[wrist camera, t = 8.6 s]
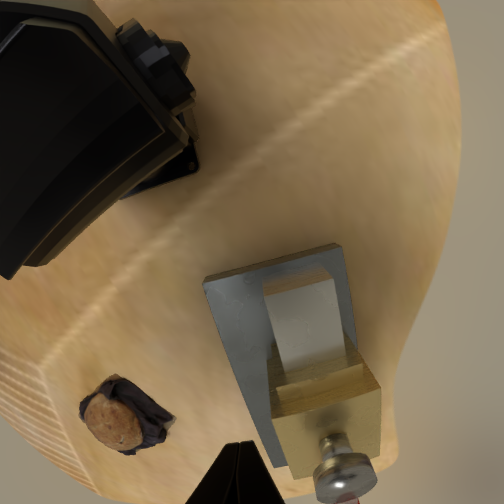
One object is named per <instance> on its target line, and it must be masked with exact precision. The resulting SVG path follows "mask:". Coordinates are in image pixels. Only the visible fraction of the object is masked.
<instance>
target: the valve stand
mask: <svg viewBox="0 0 504 504" xmlns="http://www.w3.org/2000/svg"><path fill="white" fill-rule="evenodd" d="M202 285H203V288H204V291H205V294H206V297H207V300H208V303H209V306H210V309H211V312H212V314H213V317H214V320H215V323H216V326H217V329H218V332H219V334H220V337H221V340H222V343H223V345H224V348H225V351H226V354H227V356H228V359H229V362H230V364H231V367H232V369H233V372H234V375H235V377H236V380H237V382H238V385H239V387H240V390H241V393H242V395H243V398H244V400H245V402H246V405H247V407H248V410H249V412H250V415H251V417H252V419H253V422H254V424H255V427H256V429H257V431H258V434H259V436H260V438H261V441H262V443H263V445H264V447H265V450H266V452H267V454H268V456H269V459H270V461H271V463H272V465H273V467H274V468H277V467H283V466H288V465H289V468H290V471H291V473H292V476H293V478H294V480H296V479H301V478H306V477H310V476H313V472H314V470H315V469H316V468H317V467H318V466H319V465H320V464H321V463H323V462H325V461H326V460H328V459H330V458H333V457H335V456H338V455H342V454H346V453H354V452H358V453H364V454H366V455H367V456H368V457H369V459H372V458H375V457H377V456H379V455H380V436H381V387H380V385H379V384H378V382H377V381H376V379H375V377H374V376H373V374H372V372H371V371H370V369H369V368H368V366H367V364H366V363H365V361H364V360H363V358H362V356H361V355H360V353H359V352H358V348H357V339H356V331H355V324H354V316H353V309H352V303H351V296H350V290H349V284H348V278H347V272H346V267H345V261H344V256H343V251H342V247H341V246H340V245H338V244H336V243H332V244H329V245H325V246H321V247H318V248H314V249H310V250H306V251H303V252H299V253H295V254H292V255H288V256H284V257H280V258H277V259H273V260H269V261H265V262H261V263H258V264H254V265H250V266H246V267H242V268H239V269H235V270H231V271H227V272H223V273H219V274H215V275H211V276H208V277H205V279H204V281H203V283H202Z"/></svg>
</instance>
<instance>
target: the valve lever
mask: <svg viewBox="0 0 504 504" xmlns="http://www.w3.org/2000/svg"><path fill="white" fill-rule="evenodd" d="M313 480H314V486H315V491H316V496H317V500H318V501H320V502H322V503H326V504H360V503H359V500H358V497H360V496H362V495H364V494H366V493H367V492H369V491H370V490H371V489H372V488H373V487H374V486H375V485H376V483H377V477H376V474H375V472H374V469H373V467H372V464H371V462H370V459H369V457H368V456H367V455H366V454H364V453H358V452H354V453H346V454H342V455H338V456H335V457H333V458H330V459H328V460H326V461H325V462H323V463H321V464H320V465H319V466H318V467H317V468H316V469H315V470H314V472H313Z"/></svg>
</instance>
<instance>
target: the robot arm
mask: <svg viewBox="0 0 504 504" xmlns="http://www.w3.org/2000/svg"><path fill="white" fill-rule="evenodd" d="M189 59H190V53H189V52H188V50H187V49H186V47H185V46H184V45H183V43H182V42H179V41H172V40H165V39H159V37H158V36H157V35H156V34H155V33H154V32H153V31H152V30H151V29H150V30H148V31H145V30H144V29H143V28H142V26H141V25H140V24H139V23H138V21H137V20H135V19H134V18H132V19H131V20H129V21H128V22H126V23H125V24H123V25H122V26H120V27H119V28H118V29H117V28H116V27H115V26H114V25H113V24H112V22H111V21H110V20H109V19H108V18H107V16H106V15H105V14H104V13H103V12H102V11H101V9H100V8H99V7H98V6H97V5H96V4H95V2H94V1H93V0H0V275H1V276H2V277H4V278H5V279H7V280H11V279H12V278H13V276H14V275H15V274H16V272H17V271H18V270H19V269H20V267H21V266H22V265H23V266H32V267H38V266H42V265H47V264H48V263H49V262H50V261H51V260H52V259H54V258H56V257H57V256H58V255H59V254H60V253H61V252H62V251H63V250H64V249H65V248H66V247H67V246H68V245H69V244H70V243H71V242H72V241H73V240H74V239H75V238H76V237H77V236H78V235H79V234H81V233H82V232H83V231H84V230H85V229H86V228H87V227H88V226H89V225H90V224H91V223H93V222H94V221H95V220H96V219H97V218H98V217H99V216H100V215H102V214H103V213H104V212H105V211H106V210H107V209H108V208H110V207H111V206H112V205H113V204H114V203H116V202H117V201H118V200H121V199H124V198H127V197H129V196H132V195H135V194H137V193H140V192H143V191H145V190H148V189H151V188H154V187H157V186H160V185H163V184H165V183H168V182H171V181H174V180H177V179H180V178H183V177H187V176H190V175H193V174H195V173H197V172H198V171H199V169H200V163H199V159H198V155H197V152H196V148H195V144H194V143H195V142H197V141H198V139H199V135H198V132H197V128H196V124H195V120H194V116H193V113H192V109H191V108H192V107H193V106H195V105H196V103H195V101H194V99H193V98H194V97H196V90H195V89H194V87H193V85H192V84H191V82H190V81H189V79H188V78H187V77H186V75H185V74H186V71H187V68H188V67H187V66H188V63H189ZM191 163H194V164H195V168H194V169H193V170H190V169H189V165H190V164H191ZM185 504H285V503H284V500H283V498H282V496H281V495H280V493H279V491H278V489H277V487H276V485H275V483H274V481H273V479H272V477H271V475H270V473H269V471H268V470H267V468H266V466H265V463H264V461H263V459H262V457H261V455H260V453H259V451H258V449H257V447H256V445H255V443H254V441H253V440H249V441H242V442H240V443H239V442H235V443H228V444H226V445H225V446H224V447H223V449H222V450H221V452H220V453H219V455H218V456H217V458H216V460H215V461H214V463H213V464H212V466H211V467H210V469H209V470H208V472H207V473H206V475H205V476H204V477H203V479H202V480H201V482H200V483H199V485H198V486H197V488H196V489H195V490H194V492H193V493H192V495H191V496H190V497H189V499H188V500H187V502H186V503H185Z"/></svg>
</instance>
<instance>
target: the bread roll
mask: <svg viewBox="0 0 504 504" xmlns="http://www.w3.org/2000/svg"><path fill="white" fill-rule="evenodd" d="M79 410H80V413H79V418H80V419H81V420H82V421H83V422H84V423H85V424H86V425H87V427H88V429H89V430H90V431H91V432H92V433H93V435H94V436H95V437H96V438H97V439H98V440H99V441H100V442H102V443H103V444H105V445H106V446H107V447H109V448H111V449H114V450H117V451H118V452H120V453H123V454H124V455H136V452H137V451H139V450H140V449H145V448H149V447H153V446H155V445H156V444H157V443H163V442H164V441H165V439H166V431H167V430H168V429H169V428H170V427H171V426H172V425H173V424H174V423H175V420H176V417H175V416H174V415H172V414H171V413H169V412H168V411H167V410H165V409H164V408H162V407H161V406H159V405H158V404H157V403H156V402H154V401H153V400H152V399H150V398H149V397H148V396H147V395H146V394H145V393H144V392H143V391H142V390H141V389H140V388H138V387H137V386H136V385H135V384H133V383H131V382H129V381H127V380H125V379H123V378H122V377H120V376H119V375H118V374H114V375H111V376H109V378H107V379H106V380H105V381H104V382H103V383H101V384H100V386H98V387H97V388H96V389H95V391H94V392H93V393H92V394H91V395H90V396H89V397H88V396H87V397H86V398H85V399H84V400H83V401H81V402H80V407H79ZM173 420H174V421H173Z"/></svg>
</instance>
